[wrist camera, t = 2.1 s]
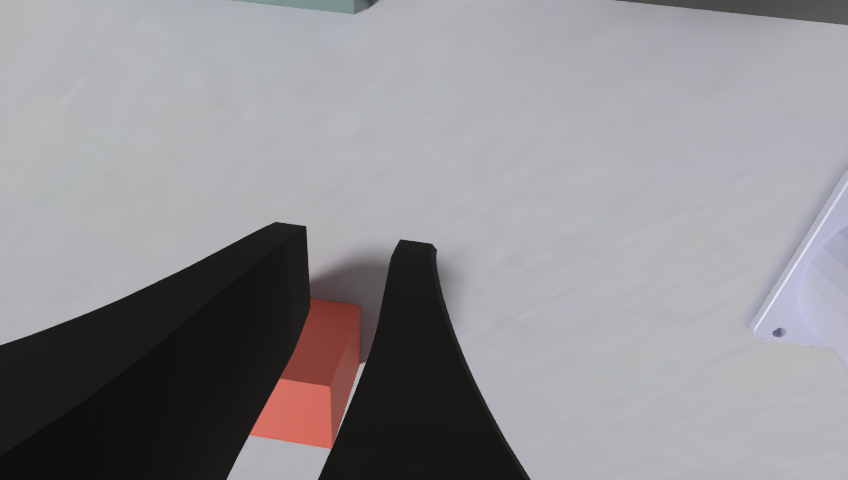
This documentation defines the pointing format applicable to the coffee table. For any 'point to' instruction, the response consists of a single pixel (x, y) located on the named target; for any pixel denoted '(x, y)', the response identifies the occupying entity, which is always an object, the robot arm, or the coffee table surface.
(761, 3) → the grey flat block
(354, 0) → the tray
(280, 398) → the block
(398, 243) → the robot arm
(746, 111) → the coffee table surface
